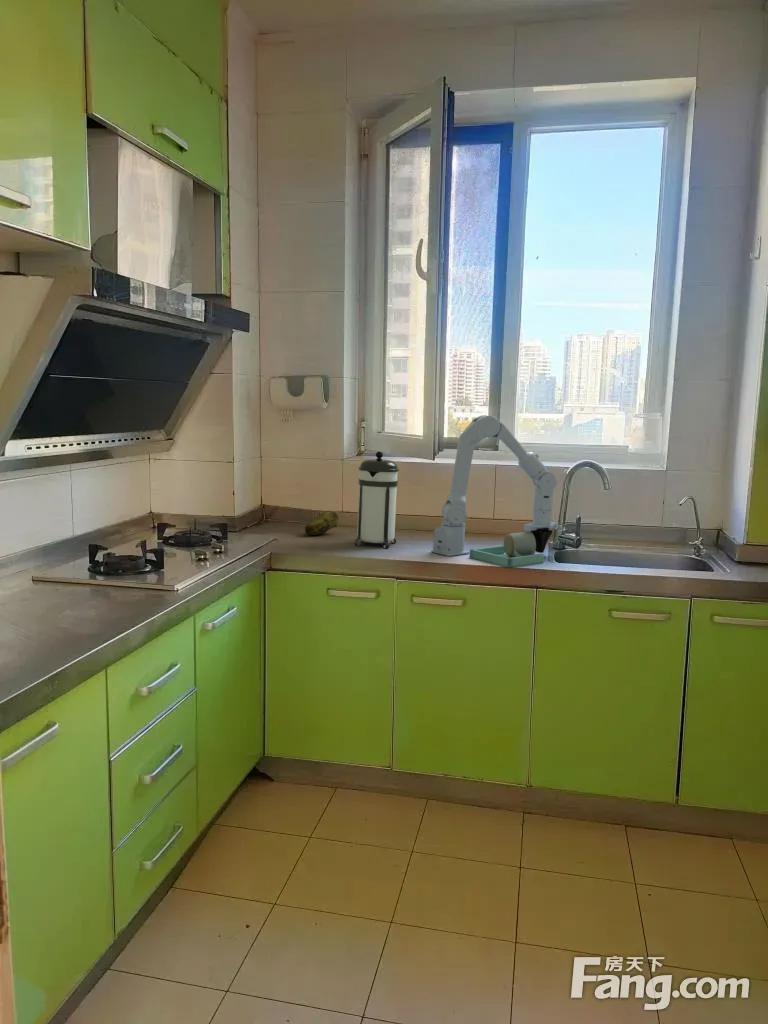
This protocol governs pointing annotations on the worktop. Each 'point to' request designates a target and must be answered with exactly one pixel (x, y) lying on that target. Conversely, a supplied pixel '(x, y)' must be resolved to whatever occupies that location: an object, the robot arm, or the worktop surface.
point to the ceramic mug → (519, 544)
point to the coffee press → (377, 501)
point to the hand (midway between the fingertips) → (539, 552)
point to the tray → (503, 557)
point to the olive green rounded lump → (322, 523)
